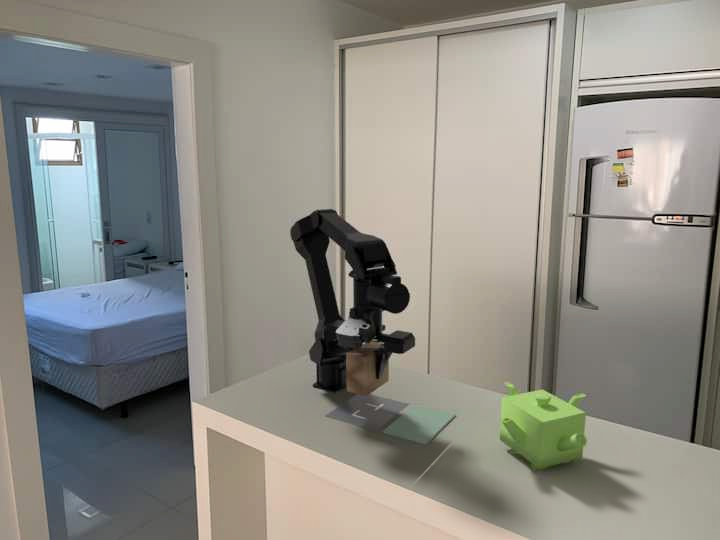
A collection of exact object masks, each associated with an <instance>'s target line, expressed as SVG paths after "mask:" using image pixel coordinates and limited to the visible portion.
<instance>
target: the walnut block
mask: <svg viewBox="0 0 720 540" xmlns="http://www.w3.org/2000/svg"><path fill="white" fill-rule="evenodd" d="M377 348H379V343H378V342H373V341H371V342H370V343H363V344H362V346H361V347H360V348H359V349H353V350H351V351H350V352H348V353H346V381H347V385H346V392H349V393H352V394H355V395H357V394H359V395H363V396H367V395H369V394H372V393H374V392H375V391H376V390H377V389H379V388H381V387H382V386H383V385H385V384H386V383H388V382H389V379H390V377H389V374H390V373H389V368H390V367H389V366H390V365H389V364H390V362H389V361H390V359H389V360H388V362H387V364H386V367H385V369H384V371H383V374H382V376H381V378H380V379H376V355H375V353H374V350H375V349H377Z"/></svg>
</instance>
